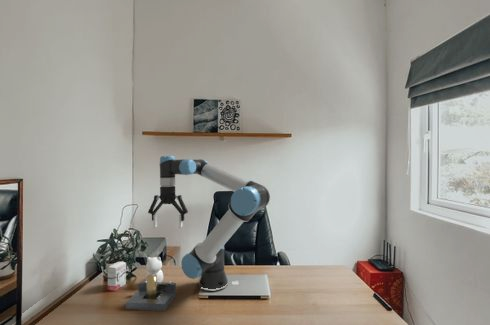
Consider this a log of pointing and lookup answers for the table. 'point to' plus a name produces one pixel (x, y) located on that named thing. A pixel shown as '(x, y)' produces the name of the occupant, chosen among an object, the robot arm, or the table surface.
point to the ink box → (116, 276)
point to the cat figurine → (154, 267)
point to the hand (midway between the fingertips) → (168, 227)
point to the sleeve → (152, 286)
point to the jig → (162, 301)
